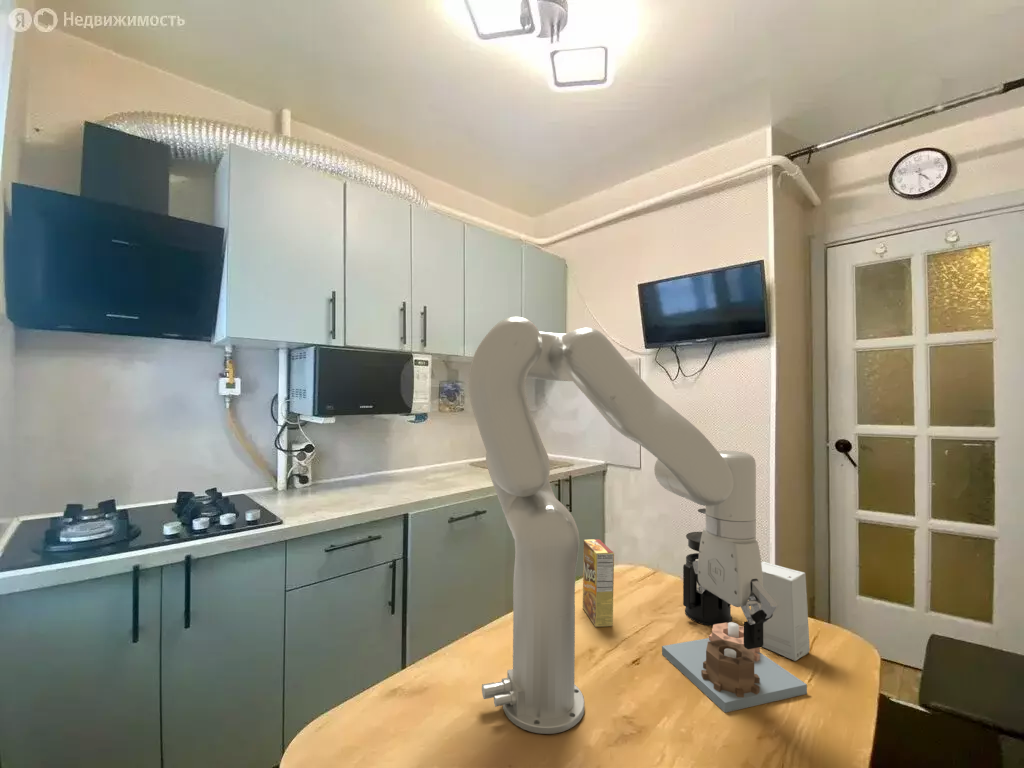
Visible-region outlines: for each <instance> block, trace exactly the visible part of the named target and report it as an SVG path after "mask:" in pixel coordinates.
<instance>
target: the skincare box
mask: <svg viewBox="0 0 1024 768" xmlns="http://www.w3.org/2000/svg"><path fill="white" fill-rule="evenodd" d="M761 564H762V576H763V588H764V589H765V590H766V591H767V592H768V594H769V595H770V596H771V597H772V598H773V599H774V600H775V602H776V603H777V607H776V609H775V611H774V613H773V616H772V618H770V619H768V620H767V622H765V623H763V646H762V647H761V648H764V649H767V650H769V651H771V652H773V653H776V654H778V655H780V656H783V657H785V658H788V659H790V660H792V661H794V662H796V661H798V660H799V659H800V658H802V657H804V656H806V655H808V654H809V653H810V651H811V648H810V647H811V645H810V631H809V615H808V614H809V613H808V595H807V594H808V593H807V578H806V575H807V574H806V572H804V571H800V570H795V569H792V568H790V567H789V568H788V567H784V566H781V565H777V564H774V563H770V562H767V561H761ZM760 605H761V606H762V604H761V603H760ZM750 610H751V612H752V614H754V613H756V612H755V610H754V608H753V606H750Z"/></svg>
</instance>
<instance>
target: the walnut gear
mask: <svg viewBox="0 0 1024 768" xmlns="http://www.w3.org/2000/svg"><path fill="white" fill-rule="evenodd" d="M726 648H729V649H733V650H735V651H736V658H732V657H728V656H724V649H726ZM703 668H705V669H706V670H701V676H702V678H703V679H707V680H709V681H711V682H712V683H713V684H714V689H715V690H717V691H719V692H720V691H721V690H725V691H728V692H732V693H735V694H736V696H737V697H744V693H749V692H752V693H754V694H756V695H757V694H758V693H759V692H760V686H758V685H756V684H754V683H760V678H759V676H758V675H757V674H754V653H753V652H752V651H750V650H749V649H747V648H745V647H744V646H743V645H742V644H739V643H735V642H731V641H727V640H723V639H721V640H715V641H710V642H708V644H707V649H706V661H704V662H703Z"/></svg>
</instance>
